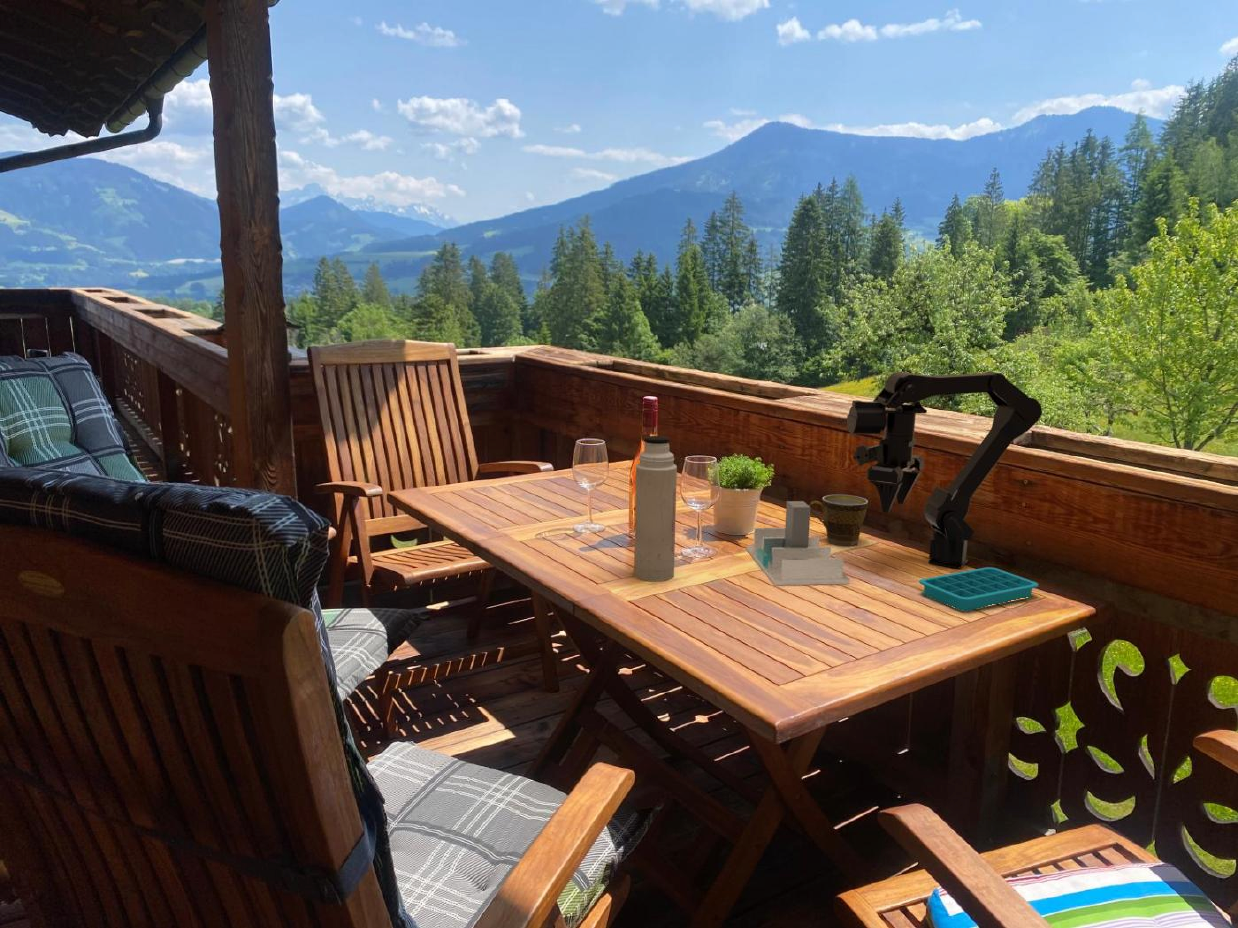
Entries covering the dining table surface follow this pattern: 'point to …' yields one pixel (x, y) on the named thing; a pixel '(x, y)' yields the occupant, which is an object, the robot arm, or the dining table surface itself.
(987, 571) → the ice cube tray
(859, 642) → the dining table surface
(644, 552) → the thermos bottle
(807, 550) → the tray
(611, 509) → the dining table surface
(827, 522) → the ceramic cup
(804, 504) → the tall gray rectangular box
